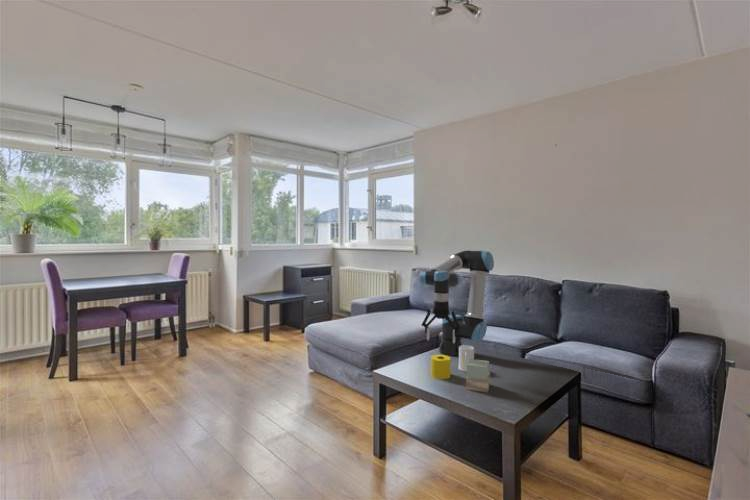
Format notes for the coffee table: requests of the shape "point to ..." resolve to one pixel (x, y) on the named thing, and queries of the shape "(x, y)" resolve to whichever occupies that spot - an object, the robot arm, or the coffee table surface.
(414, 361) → the coffee table surface
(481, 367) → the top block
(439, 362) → the yellow hollow cylinder
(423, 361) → the coffee table surface
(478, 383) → the base block
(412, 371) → the coffee table surface
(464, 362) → the mug
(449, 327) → the robot arm
